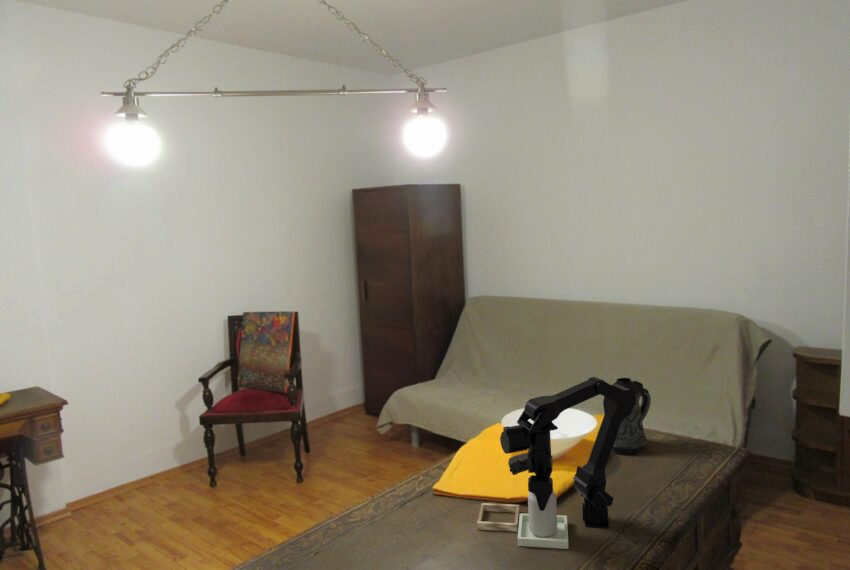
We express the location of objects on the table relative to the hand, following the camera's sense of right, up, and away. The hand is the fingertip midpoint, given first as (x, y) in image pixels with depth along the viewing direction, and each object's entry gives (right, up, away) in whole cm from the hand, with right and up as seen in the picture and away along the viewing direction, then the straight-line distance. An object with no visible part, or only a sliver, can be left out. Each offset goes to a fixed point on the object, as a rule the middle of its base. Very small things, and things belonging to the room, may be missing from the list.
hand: (542, 501), depth 159 cm
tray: (0, -9, +1) cm, 9 cm away
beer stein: (+41, 0, +56) cm, 70 cm away
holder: (-10, -9, +10) cm, 17 cm away
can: (+1, -9, +1) cm, 9 cm away
